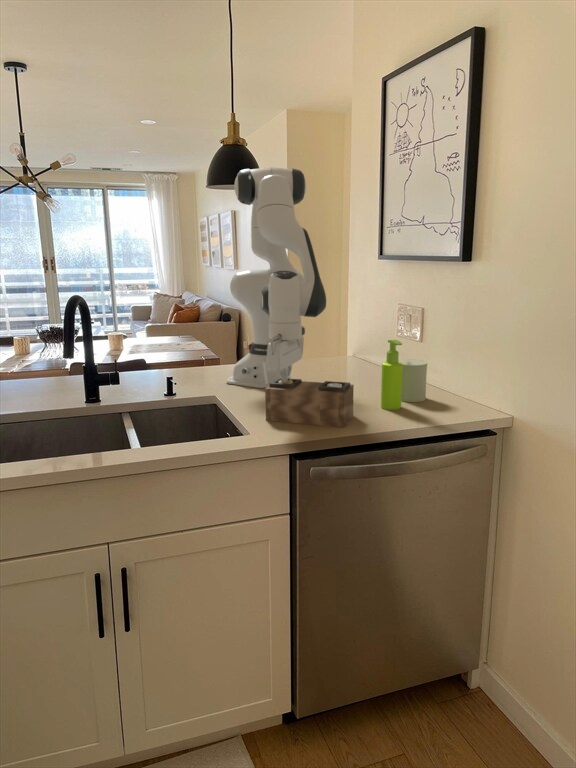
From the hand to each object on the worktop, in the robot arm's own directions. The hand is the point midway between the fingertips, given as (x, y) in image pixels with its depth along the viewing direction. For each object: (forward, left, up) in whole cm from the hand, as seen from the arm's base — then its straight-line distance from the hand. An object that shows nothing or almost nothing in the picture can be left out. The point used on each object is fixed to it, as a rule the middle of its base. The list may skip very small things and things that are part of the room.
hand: (285, 381), depth 156 cm
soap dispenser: (+27, +17, -10) cm, 33 cm away
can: (+31, +29, -10) cm, 44 cm away
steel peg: (+14, 0, -8) cm, 16 cm away
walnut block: (+7, 0, -10) cm, 12 cm away
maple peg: (0, 0, -8) cm, 8 cm away
